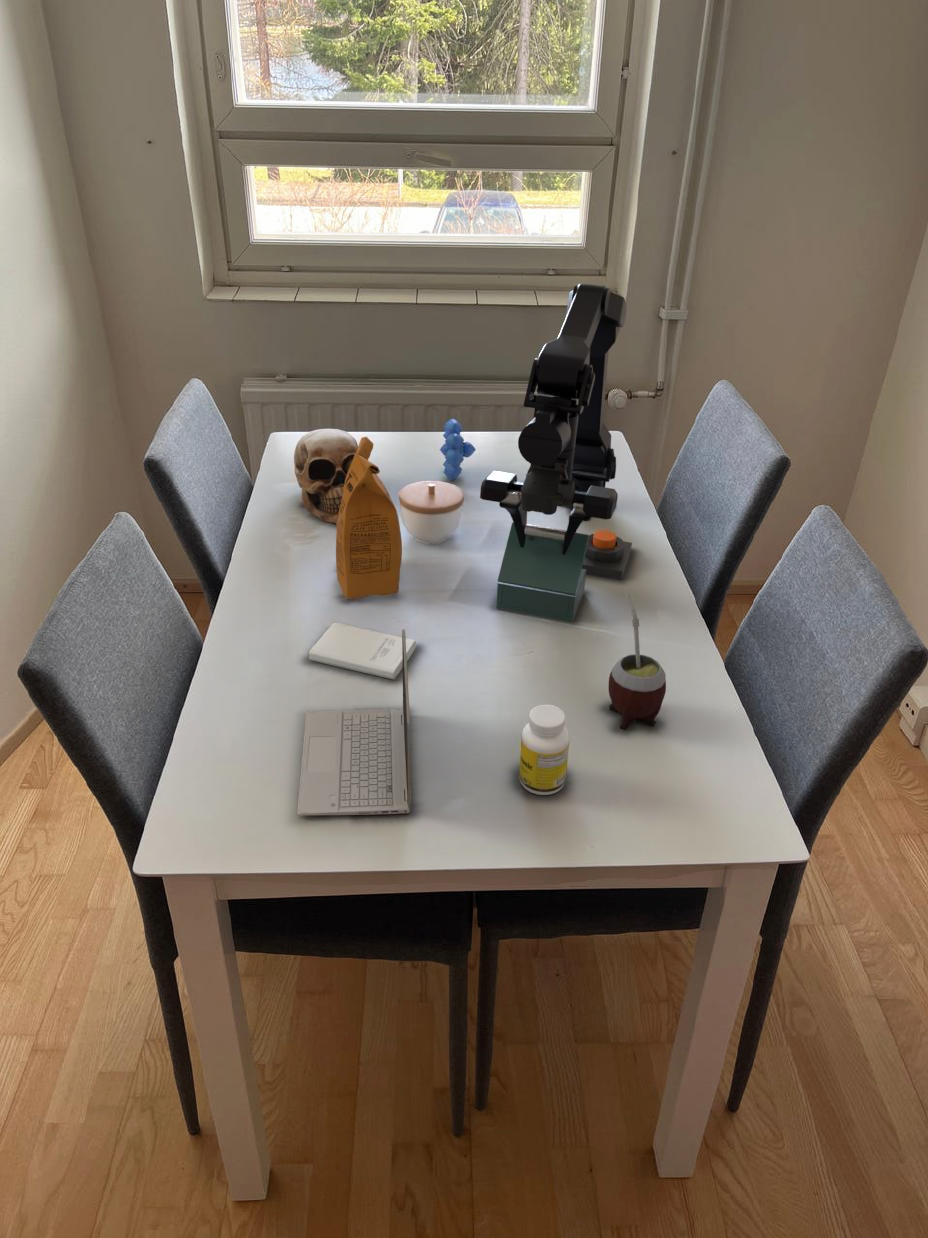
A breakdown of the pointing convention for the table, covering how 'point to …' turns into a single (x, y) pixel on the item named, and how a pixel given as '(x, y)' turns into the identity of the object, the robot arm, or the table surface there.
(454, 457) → the grapes
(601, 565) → the button block
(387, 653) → the hard drive
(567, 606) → the dark green toolbox
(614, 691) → the mate gourd
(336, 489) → the skull
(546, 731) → the supplement bottle
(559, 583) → the lid
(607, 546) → the button
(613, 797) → the table surface
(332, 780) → the laptop
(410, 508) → the trinket box
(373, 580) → the coffee package
